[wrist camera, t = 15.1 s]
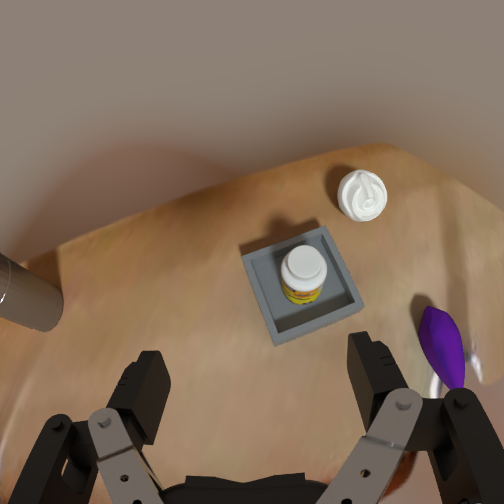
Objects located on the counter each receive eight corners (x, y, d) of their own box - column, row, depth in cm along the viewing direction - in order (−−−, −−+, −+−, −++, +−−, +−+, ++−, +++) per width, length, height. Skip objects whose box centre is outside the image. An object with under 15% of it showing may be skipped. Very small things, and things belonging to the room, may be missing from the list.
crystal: (455, 406, 32) (421, 310, 36) (439, 403, 36) (407, 315, 41) (480, 388, 32) (446, 295, 37) (463, 387, 36) (431, 302, 41)
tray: (274, 346, 42) (273, 343, 39) (244, 265, 48) (240, 256, 44) (359, 311, 43) (364, 305, 40) (323, 236, 48) (325, 225, 45)
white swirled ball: (343, 234, 48) (351, 207, 41) (326, 195, 51) (331, 166, 44) (387, 222, 48) (400, 195, 41) (368, 185, 51) (377, 156, 44)
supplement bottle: (275, 296, 44) (270, 270, 35) (293, 263, 46) (293, 230, 37) (310, 314, 42) (316, 292, 33) (327, 280, 44) (337, 250, 35)
